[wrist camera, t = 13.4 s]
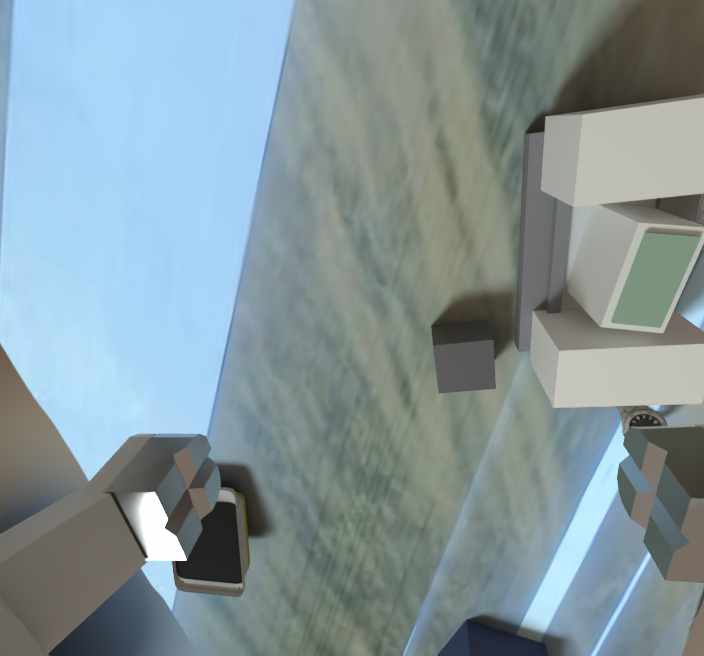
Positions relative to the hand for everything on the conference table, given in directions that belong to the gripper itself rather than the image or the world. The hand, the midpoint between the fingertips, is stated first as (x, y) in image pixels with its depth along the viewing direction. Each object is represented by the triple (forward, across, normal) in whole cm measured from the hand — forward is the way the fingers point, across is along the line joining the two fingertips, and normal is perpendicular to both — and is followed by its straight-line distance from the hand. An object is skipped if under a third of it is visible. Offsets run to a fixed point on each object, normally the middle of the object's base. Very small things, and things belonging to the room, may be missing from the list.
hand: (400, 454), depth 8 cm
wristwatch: (+29, -20, +22) cm, 42 cm away
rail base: (+29, -15, +5) cm, 33 cm away
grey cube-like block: (+29, -4, +14) cm, 33 cm away
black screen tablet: (+25, +29, +46) cm, 59 cm away
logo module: (+27, -15, +5) cm, 32 cm away
